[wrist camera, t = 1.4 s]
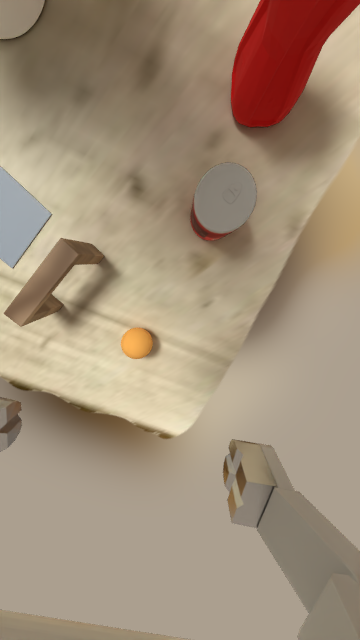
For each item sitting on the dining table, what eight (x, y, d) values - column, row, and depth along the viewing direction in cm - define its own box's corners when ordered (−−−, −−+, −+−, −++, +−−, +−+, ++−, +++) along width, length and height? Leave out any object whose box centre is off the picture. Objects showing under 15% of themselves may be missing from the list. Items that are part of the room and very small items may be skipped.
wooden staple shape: (45, 301, 40) (3, 313, 30) (91, 243, 36) (60, 238, 27) (57, 311, 40) (20, 326, 31) (104, 256, 37) (78, 254, 28)
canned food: (243, 207, 35) (270, 184, 24) (218, 249, 37) (233, 245, 26) (205, 182, 34) (217, 146, 23) (182, 227, 36) (182, 213, 25)
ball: (119, 337, 42) (110, 349, 36) (138, 318, 40) (131, 327, 35) (141, 355, 43) (135, 370, 37) (160, 337, 42) (157, 349, 36)
